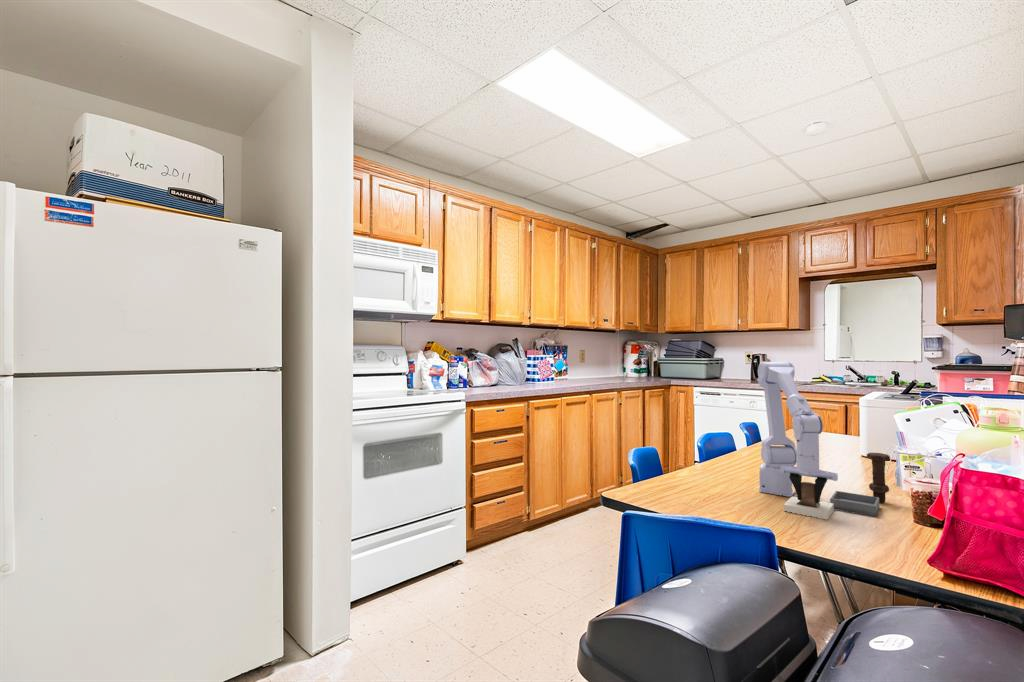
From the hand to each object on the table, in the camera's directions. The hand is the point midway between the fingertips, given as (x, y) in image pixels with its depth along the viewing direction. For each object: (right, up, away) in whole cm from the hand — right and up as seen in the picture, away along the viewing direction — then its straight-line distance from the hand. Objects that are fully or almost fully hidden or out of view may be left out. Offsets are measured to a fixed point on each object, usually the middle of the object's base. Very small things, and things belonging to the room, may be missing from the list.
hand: (808, 500), depth 143 cm
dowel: (0, -3, 0) cm, 3 cm away
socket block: (0, -3, 0) cm, 3 cm away
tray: (+15, -3, +2) cm, 16 cm away
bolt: (+27, -3, +8) cm, 28 cm away
